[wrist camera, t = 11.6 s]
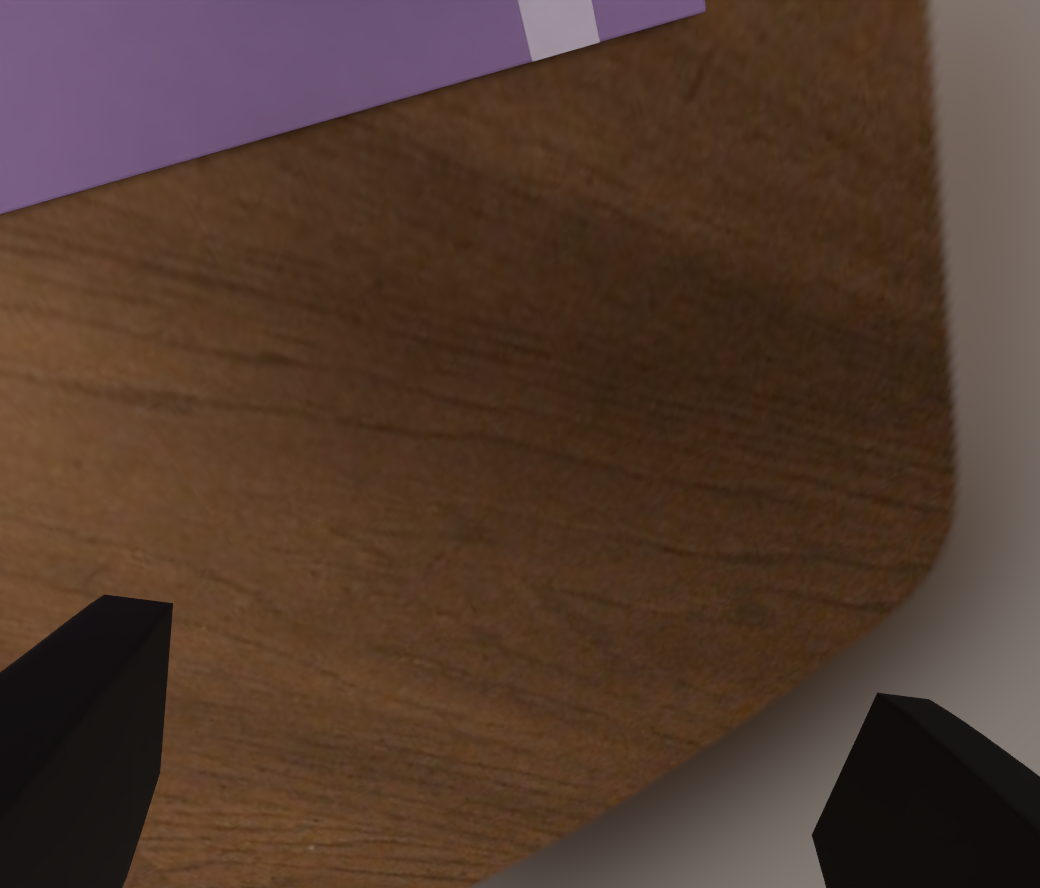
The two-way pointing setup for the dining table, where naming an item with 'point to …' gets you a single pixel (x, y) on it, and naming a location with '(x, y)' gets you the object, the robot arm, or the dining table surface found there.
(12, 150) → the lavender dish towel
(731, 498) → the dining table surface
